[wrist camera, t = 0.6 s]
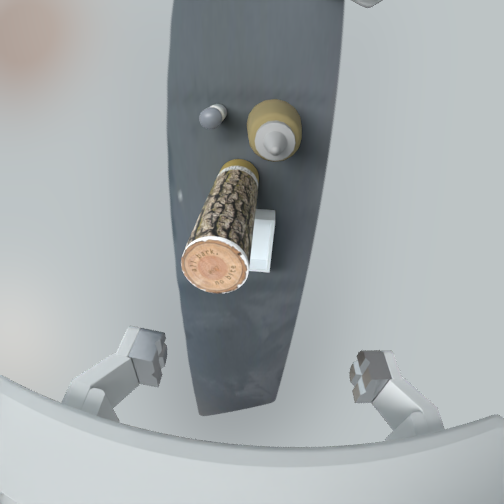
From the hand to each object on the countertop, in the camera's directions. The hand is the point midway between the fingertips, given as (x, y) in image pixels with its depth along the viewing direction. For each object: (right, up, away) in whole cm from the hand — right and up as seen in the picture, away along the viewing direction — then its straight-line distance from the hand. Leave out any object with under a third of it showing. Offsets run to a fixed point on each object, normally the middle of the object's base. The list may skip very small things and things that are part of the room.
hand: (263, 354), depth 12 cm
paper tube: (-3, +17, +38) cm, 42 cm away
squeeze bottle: (+3, +25, +32) cm, 41 cm away
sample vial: (-6, +26, +32) cm, 41 cm away
